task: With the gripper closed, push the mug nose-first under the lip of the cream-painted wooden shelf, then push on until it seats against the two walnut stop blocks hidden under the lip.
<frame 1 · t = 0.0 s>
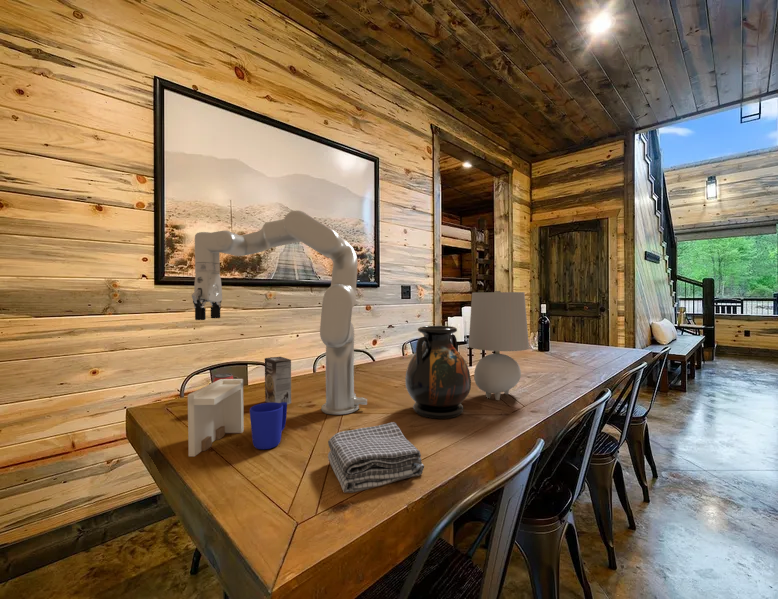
hand: (208, 319, 119), 31 cm above the table, fingers open, 9 cm apart
amphora vase: (438, 412, 116), on the table
shelf: (211, 442, 92), on the table
table lamp: (499, 397, 131), on the table
beer can: (224, 410, 120), on the table
coffee box: (278, 403, 127), on the table
towel: (374, 472, 77), on the table
mug: (271, 443, 92), on the table
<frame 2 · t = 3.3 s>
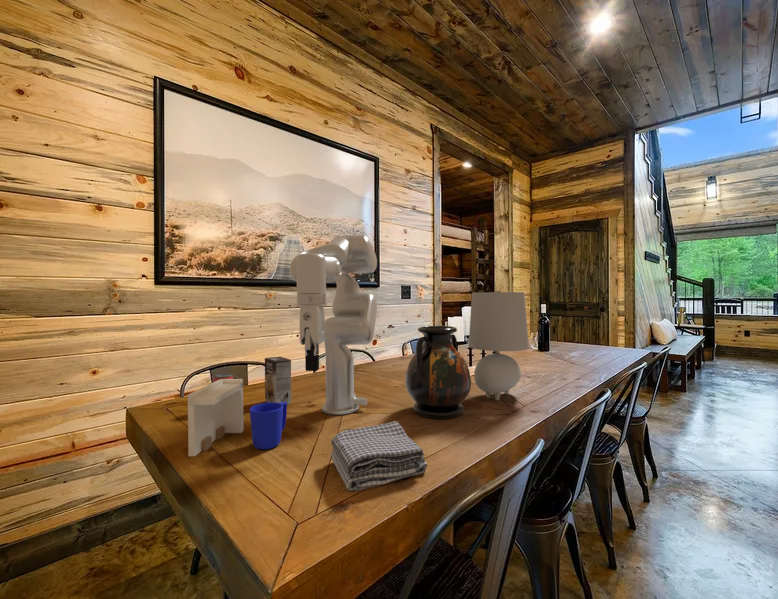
hand: (312, 370, 92), 19 cm above the table, fingers closed
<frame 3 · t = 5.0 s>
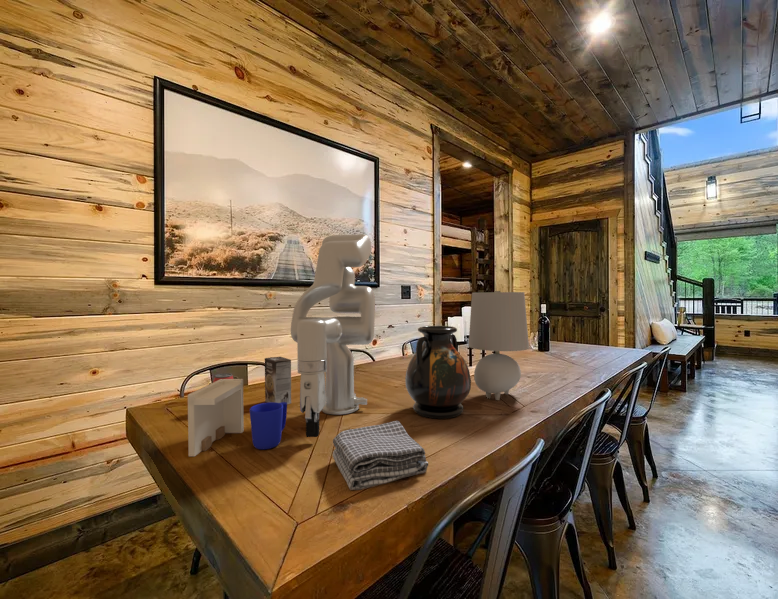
hand: (312, 435, 92), 2 cm above the table, fingers closed
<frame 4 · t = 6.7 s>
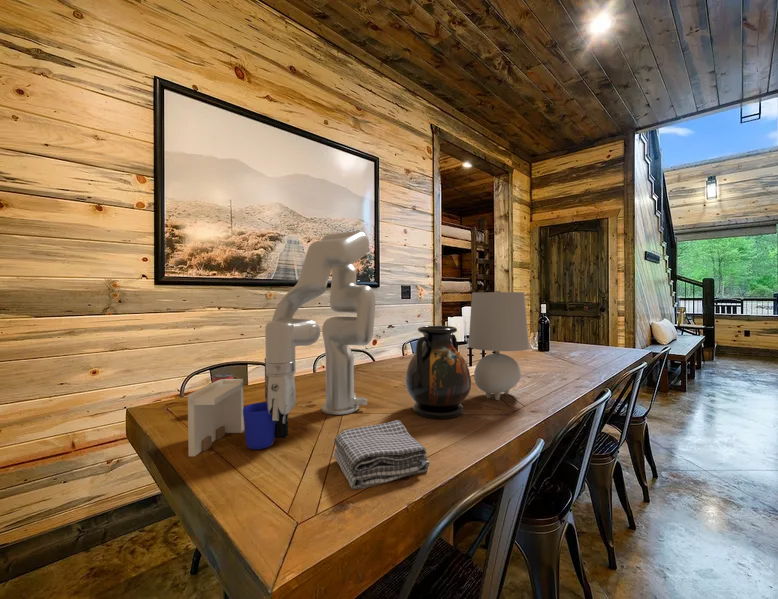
hand: (281, 437, 92), 1 cm above the table, fingers closed
mug: (265, 443, 92), on the table, touching gripper
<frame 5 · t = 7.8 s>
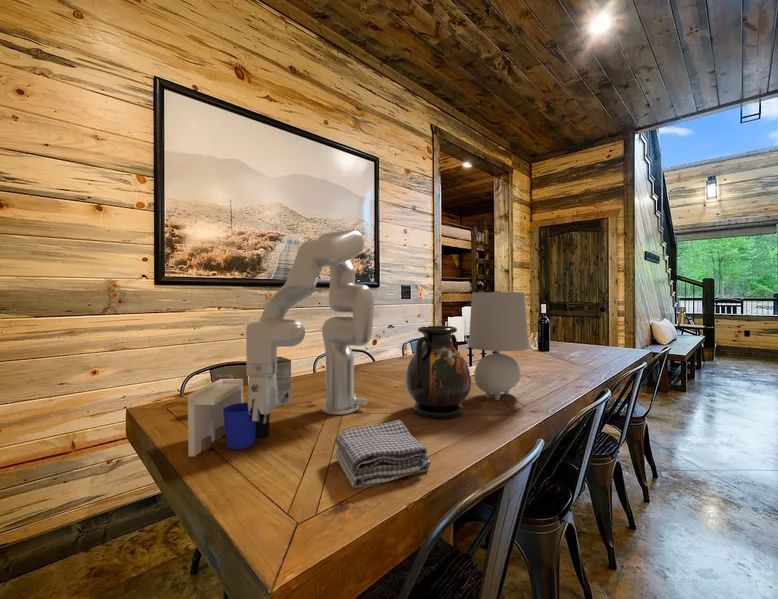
hand: (262, 437, 92), 1 cm above the table, fingers closed
mug: (246, 443, 92), on the table, touching gripper
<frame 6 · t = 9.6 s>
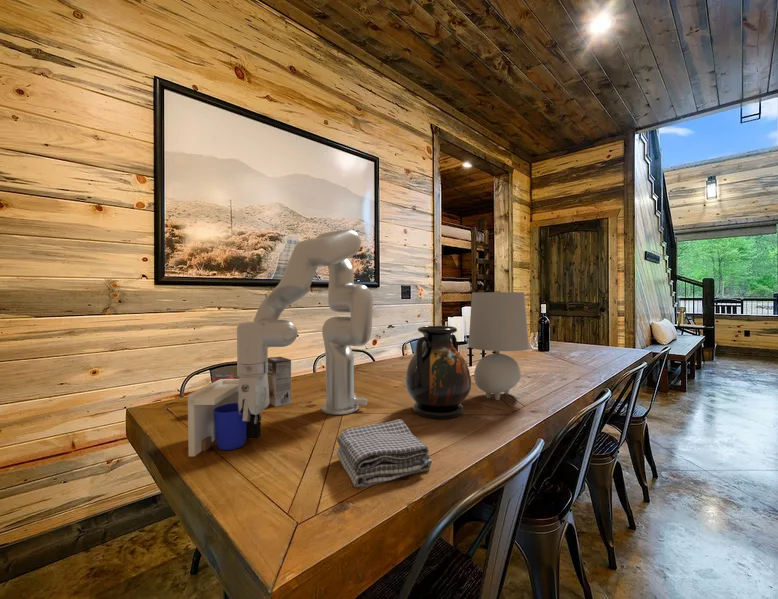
hand: (253, 437, 92), 1 cm above the table, fingers closed
mug: (237, 443, 92), on the table
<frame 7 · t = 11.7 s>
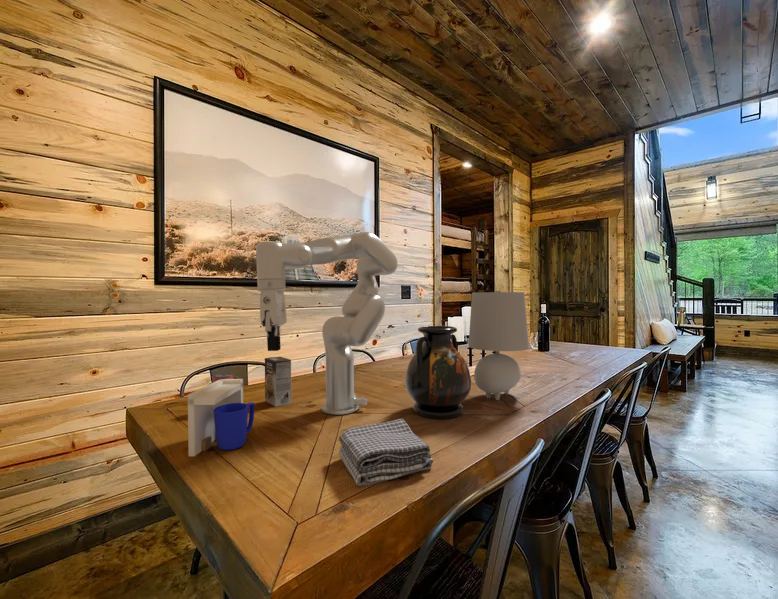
hand: (274, 350, 99), 23 cm above the table, fingers closed
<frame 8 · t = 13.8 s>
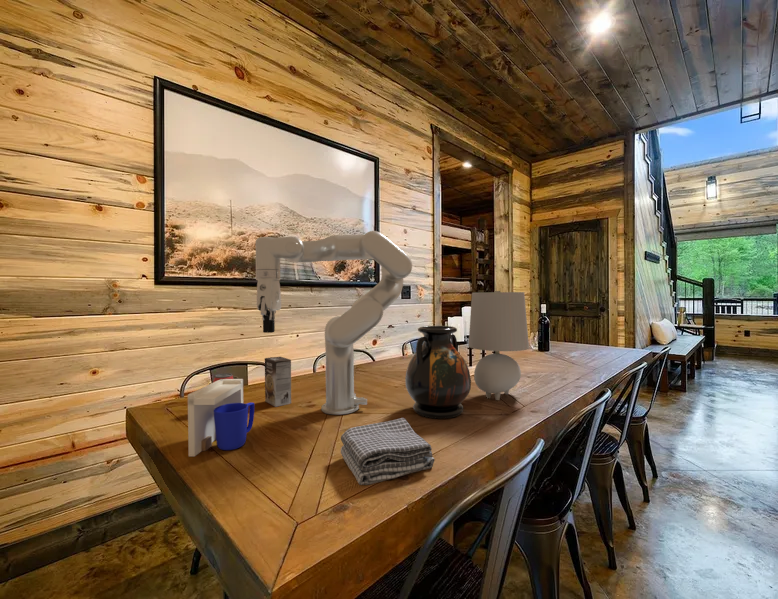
hand: (268, 332, 113), 27 cm above the table, fingers closed
at the end: mug inside the target area (1.2 cm from its centre), on the table; mug tilted 0° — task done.
